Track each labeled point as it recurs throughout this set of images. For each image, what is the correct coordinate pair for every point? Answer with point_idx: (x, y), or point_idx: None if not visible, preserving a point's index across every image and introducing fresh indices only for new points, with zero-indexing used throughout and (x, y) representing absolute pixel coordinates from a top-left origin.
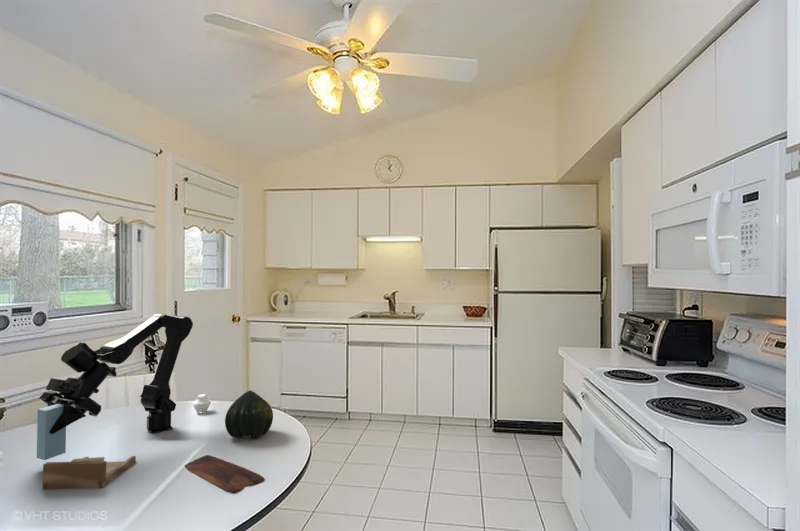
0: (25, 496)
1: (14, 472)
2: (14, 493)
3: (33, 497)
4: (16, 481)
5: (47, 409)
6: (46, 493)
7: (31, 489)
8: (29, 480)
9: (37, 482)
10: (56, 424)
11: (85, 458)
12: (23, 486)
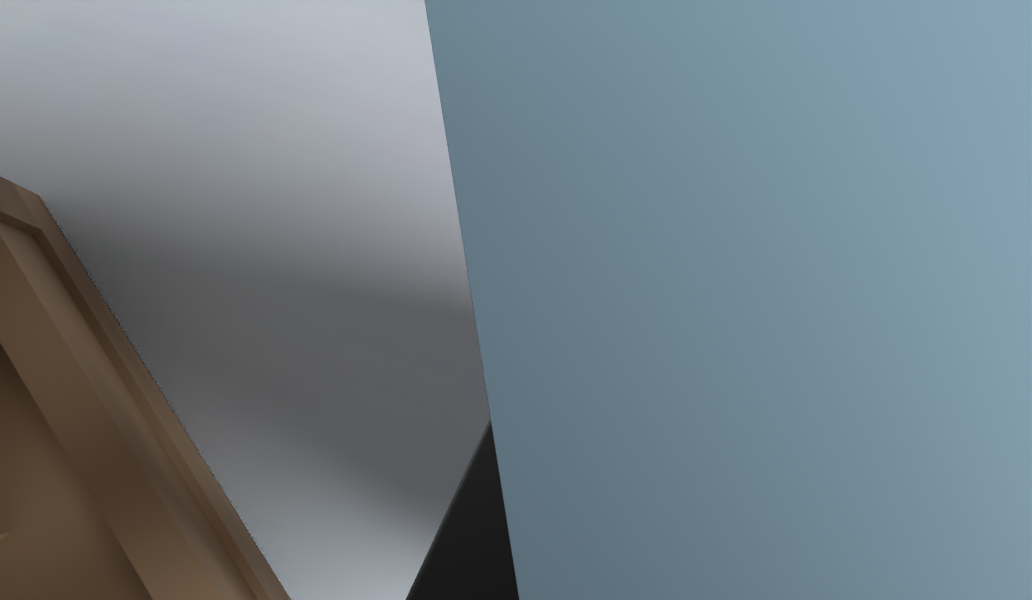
0: (132, 75)
1: None
2: (314, 33)
3: (32, 114)
4: None
5: (779, 154)
6: None
7: (260, 166)
8: None
9: (404, 268)
10: (428, 567)
11: None
12: (425, 142)
